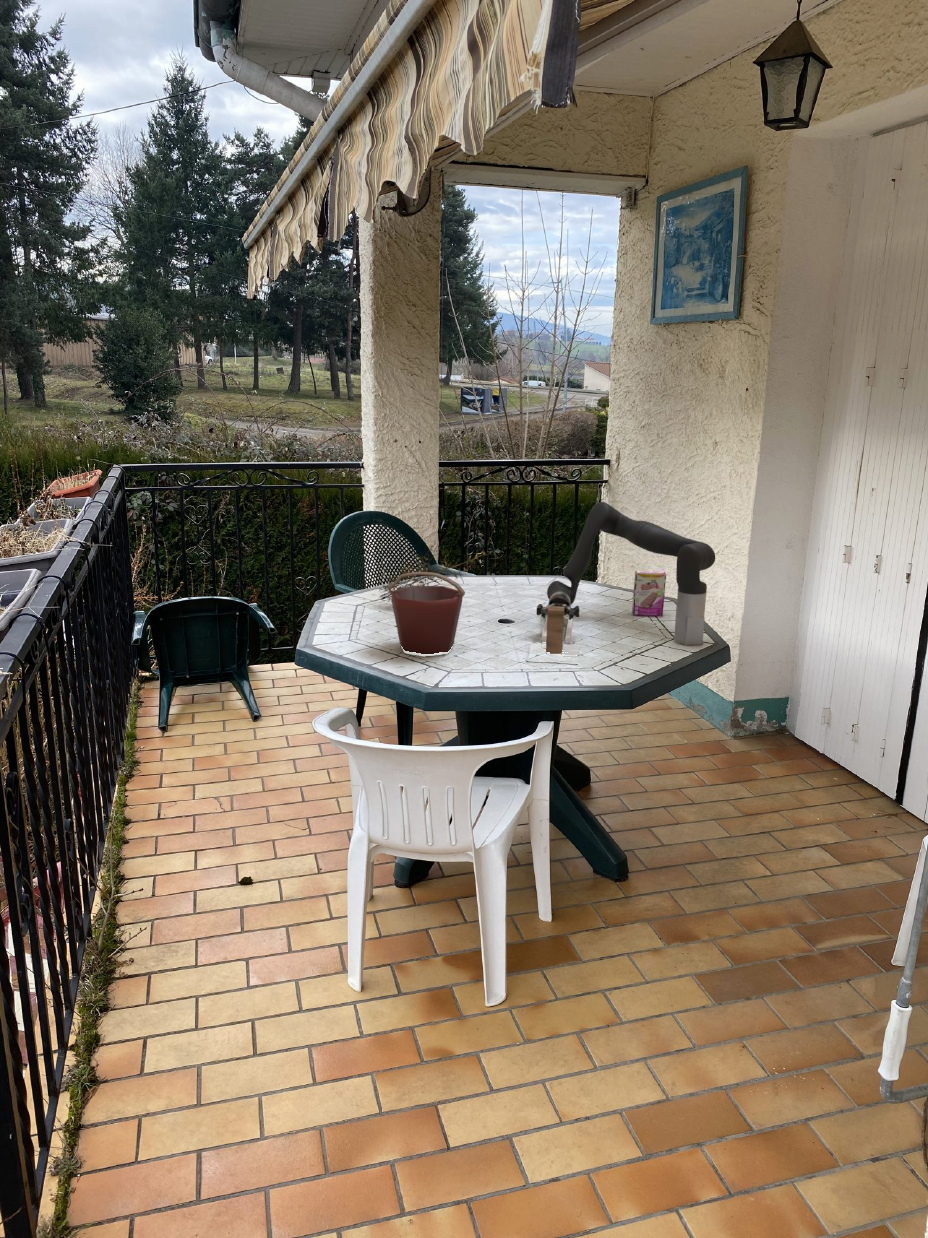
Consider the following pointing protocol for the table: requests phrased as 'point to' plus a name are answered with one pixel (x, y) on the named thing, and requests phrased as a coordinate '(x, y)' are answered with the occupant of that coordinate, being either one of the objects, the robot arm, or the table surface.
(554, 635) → the walnut block
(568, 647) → the mat
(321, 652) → the table surface
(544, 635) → the chute
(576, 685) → the table surface
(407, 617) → the bucket
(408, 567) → the dried plant
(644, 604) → the candy bar box
